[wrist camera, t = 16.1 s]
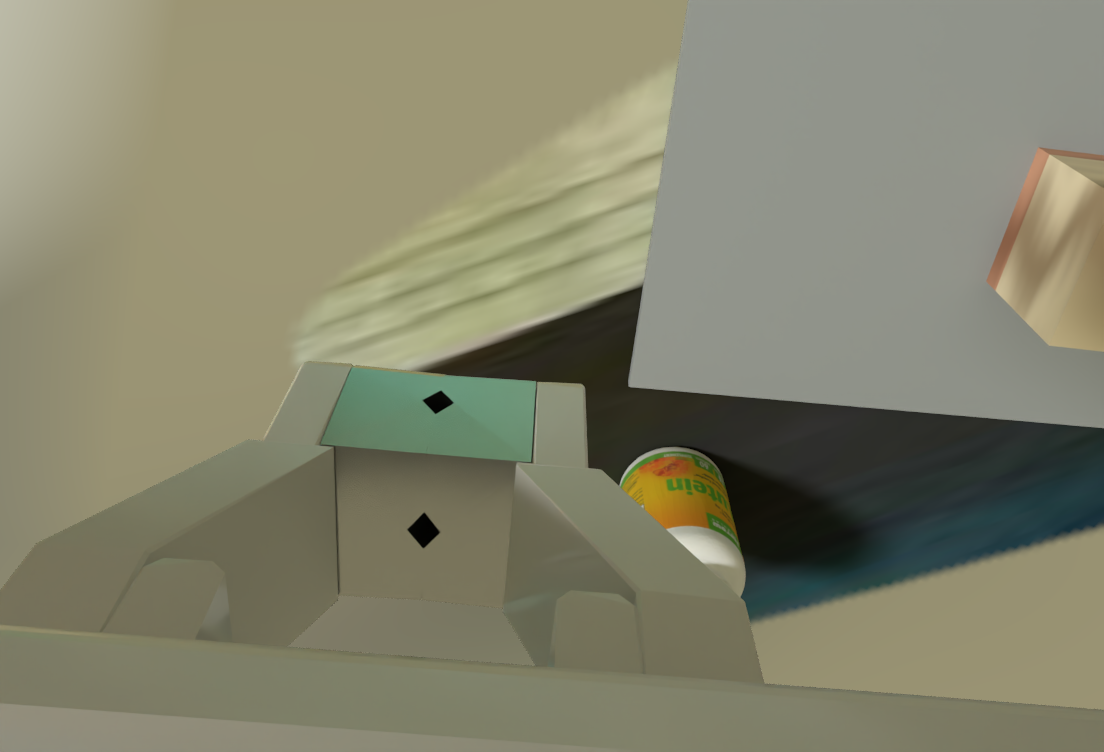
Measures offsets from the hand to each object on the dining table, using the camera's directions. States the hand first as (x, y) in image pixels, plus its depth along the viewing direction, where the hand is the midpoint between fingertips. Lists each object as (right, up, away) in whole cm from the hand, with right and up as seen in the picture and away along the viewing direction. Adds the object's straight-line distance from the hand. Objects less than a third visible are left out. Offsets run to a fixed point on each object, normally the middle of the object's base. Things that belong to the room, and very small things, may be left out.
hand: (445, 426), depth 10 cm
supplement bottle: (+7, -5, +37) cm, 38 cm away
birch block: (+24, +4, +24) cm, 33 cm away
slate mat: (+18, +8, +29) cm, 35 cm away
